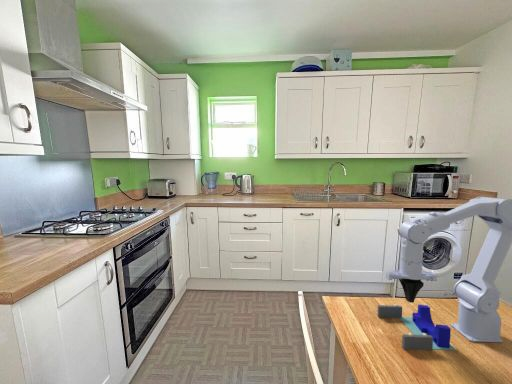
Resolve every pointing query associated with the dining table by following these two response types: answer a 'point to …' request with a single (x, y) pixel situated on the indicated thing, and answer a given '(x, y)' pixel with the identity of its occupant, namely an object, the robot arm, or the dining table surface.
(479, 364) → the dining table surface
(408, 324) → the mat
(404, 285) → the robot arm
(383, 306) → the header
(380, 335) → the dining table surface
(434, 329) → the blue bent block
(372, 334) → the dining table surface
